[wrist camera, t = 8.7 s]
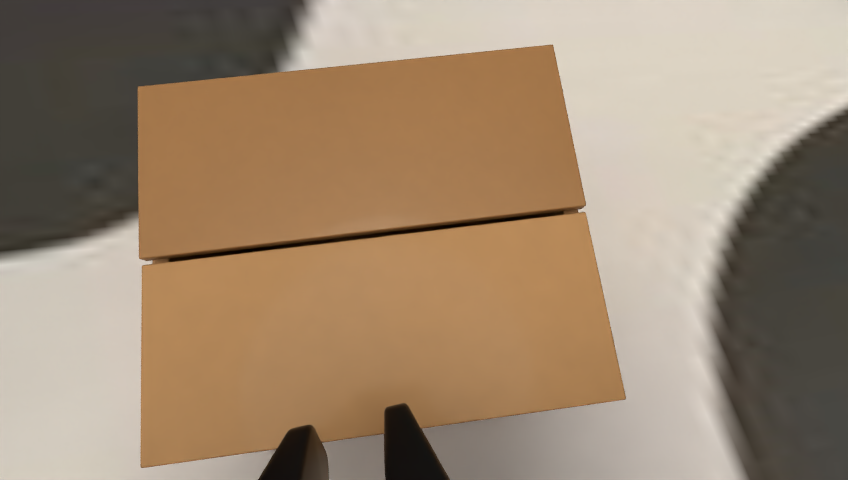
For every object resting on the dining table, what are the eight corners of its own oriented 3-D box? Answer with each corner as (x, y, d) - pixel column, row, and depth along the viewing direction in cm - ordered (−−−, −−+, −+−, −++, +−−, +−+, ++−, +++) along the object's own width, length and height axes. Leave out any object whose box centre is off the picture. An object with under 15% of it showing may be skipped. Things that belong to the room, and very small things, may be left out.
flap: (620, 398, 13) (626, 399, 13) (147, 465, 13) (139, 468, 12) (581, 215, 15) (586, 211, 14) (148, 267, 14) (141, 264, 13)
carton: (539, 377, 22) (628, 402, 13) (254, 416, 21) (137, 472, 12) (500, 154, 24) (554, 42, 15) (242, 183, 24) (135, 83, 14)
